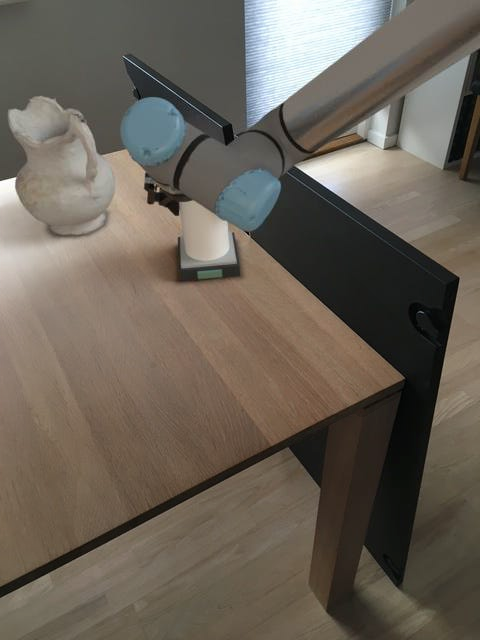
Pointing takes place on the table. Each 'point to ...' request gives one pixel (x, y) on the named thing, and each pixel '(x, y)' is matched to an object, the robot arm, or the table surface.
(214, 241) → the cup
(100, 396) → the table surface
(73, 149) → the ceramic pitcher
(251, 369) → the table surface
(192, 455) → the table surface
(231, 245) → the scale
